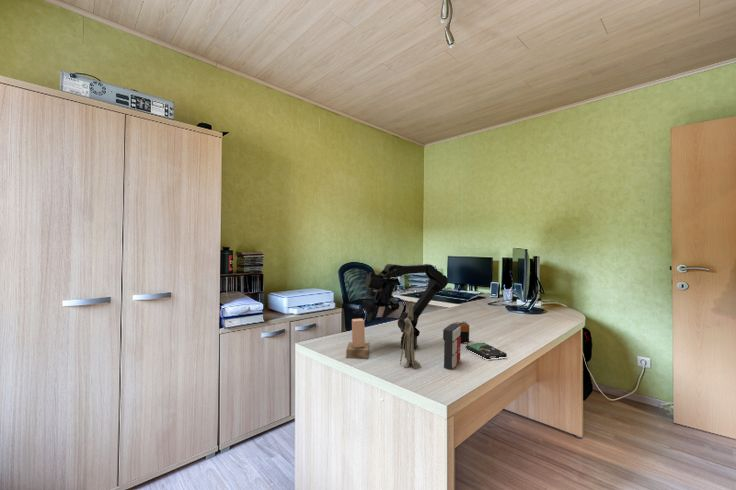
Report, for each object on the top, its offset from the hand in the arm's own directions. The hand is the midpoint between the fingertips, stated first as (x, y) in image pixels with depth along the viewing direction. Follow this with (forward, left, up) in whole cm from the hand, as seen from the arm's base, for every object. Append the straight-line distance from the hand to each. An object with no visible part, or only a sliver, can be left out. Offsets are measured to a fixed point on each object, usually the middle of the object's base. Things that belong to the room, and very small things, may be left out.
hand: (375, 320), depth 142 cm
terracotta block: (+2, +13, -8) cm, 16 cm away
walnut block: (+2, +13, -12) cm, 18 cm away
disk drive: (-47, -15, -13) cm, 51 cm away
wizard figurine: (-21, +13, -12) cm, 28 cm away
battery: (-35, -26, -12) cm, 45 cm away
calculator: (-36, +5, -12) cm, 38 cm away
